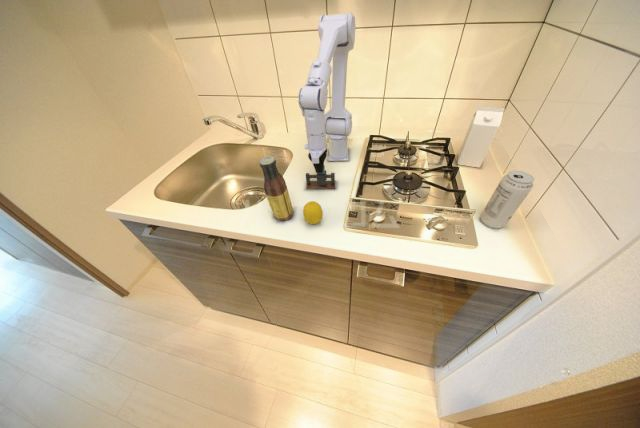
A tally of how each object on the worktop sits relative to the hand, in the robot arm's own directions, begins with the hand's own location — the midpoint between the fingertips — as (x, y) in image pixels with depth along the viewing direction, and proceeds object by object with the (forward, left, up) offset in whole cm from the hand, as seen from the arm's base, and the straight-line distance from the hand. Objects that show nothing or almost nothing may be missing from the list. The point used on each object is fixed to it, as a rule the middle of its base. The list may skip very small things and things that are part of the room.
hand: (319, 171), depth 76 cm
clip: (0, +1, -5) cm, 5 cm away
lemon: (+18, 0, -6) cm, 19 cm away
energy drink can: (+17, +49, -6) cm, 52 cm away
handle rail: (0, 0, -6) cm, 6 cm away
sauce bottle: (+15, -10, -6) cm, 19 cm away
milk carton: (-14, +54, -6) cm, 56 cm away
